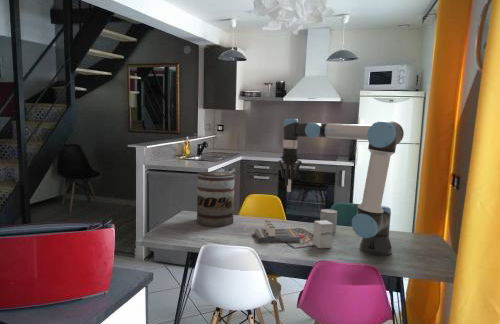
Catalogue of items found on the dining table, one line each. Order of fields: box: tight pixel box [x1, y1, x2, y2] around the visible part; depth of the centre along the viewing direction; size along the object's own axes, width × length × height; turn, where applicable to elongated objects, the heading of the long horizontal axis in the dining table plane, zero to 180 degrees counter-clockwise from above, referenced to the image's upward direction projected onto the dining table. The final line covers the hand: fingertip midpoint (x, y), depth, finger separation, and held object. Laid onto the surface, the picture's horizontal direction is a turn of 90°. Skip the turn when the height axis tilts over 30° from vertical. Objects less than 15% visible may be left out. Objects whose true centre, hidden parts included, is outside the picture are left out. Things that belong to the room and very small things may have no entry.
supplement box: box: [312, 220, 333, 249], centre depth 187 cm, size 7×7×13 cm
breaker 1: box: [263, 220, 272, 230], centre depth 203 cm, size 3×3×5 cm
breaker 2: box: [268, 225, 276, 236], centre depth 192 cm, size 3×3×5 cm
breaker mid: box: [266, 222, 274, 233], centre depth 198 cm, size 3×3×5 cm
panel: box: [254, 228, 301, 243], centre depth 199 cm, size 15×22×3 cm
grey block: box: [319, 208, 338, 235], centre depth 213 cm, size 10×10×12 cm
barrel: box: [196, 171, 236, 228], centre depth 225 cm, size 22×22×30 cm
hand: (288, 191), depth 197 cm, fingers closed
